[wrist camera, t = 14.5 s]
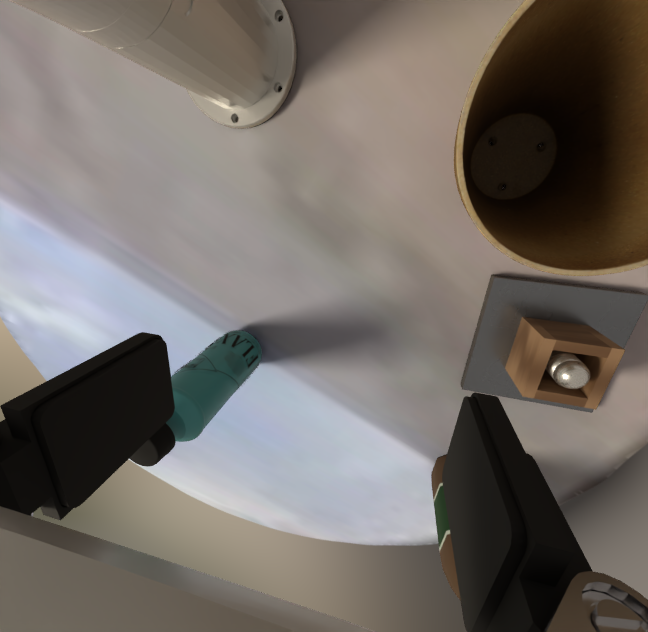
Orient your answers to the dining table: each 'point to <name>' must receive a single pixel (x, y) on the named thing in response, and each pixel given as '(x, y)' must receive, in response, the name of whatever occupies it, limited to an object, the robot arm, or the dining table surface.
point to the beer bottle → (443, 526)
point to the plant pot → (561, 137)
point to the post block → (547, 304)
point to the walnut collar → (578, 339)
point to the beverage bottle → (202, 392)
